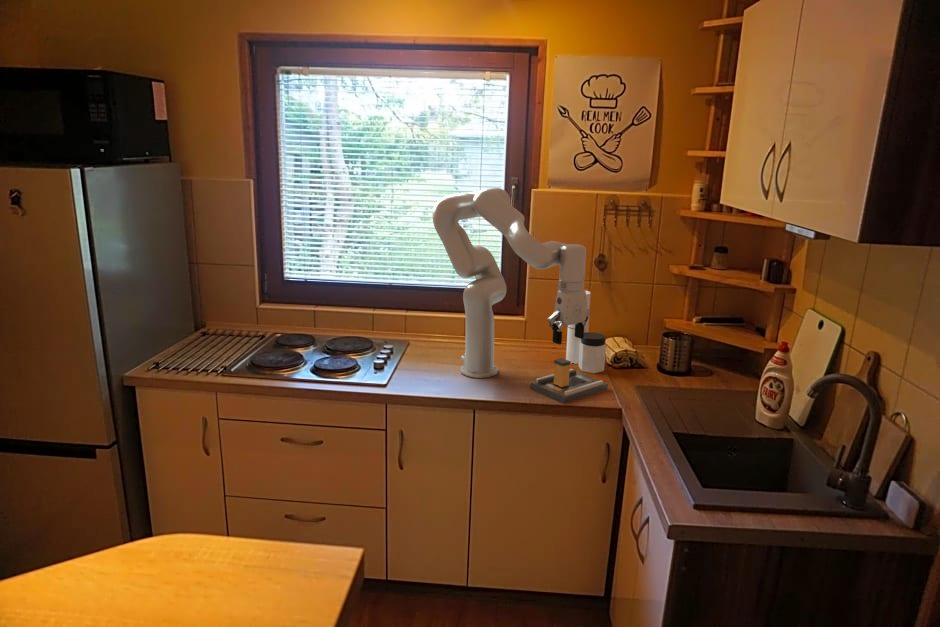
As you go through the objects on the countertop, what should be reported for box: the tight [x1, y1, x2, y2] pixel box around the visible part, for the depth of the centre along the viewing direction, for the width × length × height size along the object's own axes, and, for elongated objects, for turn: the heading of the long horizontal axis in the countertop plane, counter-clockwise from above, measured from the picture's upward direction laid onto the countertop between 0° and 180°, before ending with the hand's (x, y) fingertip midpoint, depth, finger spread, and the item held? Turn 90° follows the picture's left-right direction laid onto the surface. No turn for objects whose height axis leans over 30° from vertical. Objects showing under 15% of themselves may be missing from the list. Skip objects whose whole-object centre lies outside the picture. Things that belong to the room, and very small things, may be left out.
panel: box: [529, 370, 609, 405], centre depth 198 cm, size 15×19×2 cm
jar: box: [578, 331, 607, 374], centre depth 214 cm, size 9×8×12 cm
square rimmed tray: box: [535, 368, 604, 395], centre depth 197 cm, size 14×16×1 cm
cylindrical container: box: [565, 290, 591, 365], centre depth 221 cm, size 7×7×25 cm
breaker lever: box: [553, 357, 571, 387], centre depth 194 cm, size 4×3×8 cm
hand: (568, 340), depth 193 cm, fingers open, 9 cm apart
